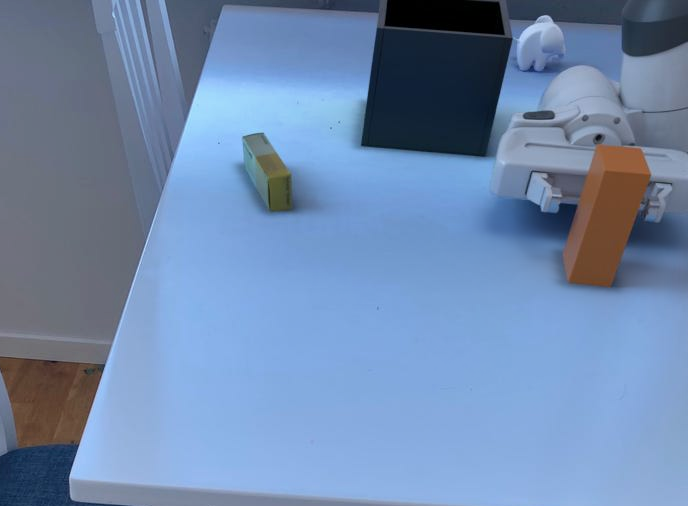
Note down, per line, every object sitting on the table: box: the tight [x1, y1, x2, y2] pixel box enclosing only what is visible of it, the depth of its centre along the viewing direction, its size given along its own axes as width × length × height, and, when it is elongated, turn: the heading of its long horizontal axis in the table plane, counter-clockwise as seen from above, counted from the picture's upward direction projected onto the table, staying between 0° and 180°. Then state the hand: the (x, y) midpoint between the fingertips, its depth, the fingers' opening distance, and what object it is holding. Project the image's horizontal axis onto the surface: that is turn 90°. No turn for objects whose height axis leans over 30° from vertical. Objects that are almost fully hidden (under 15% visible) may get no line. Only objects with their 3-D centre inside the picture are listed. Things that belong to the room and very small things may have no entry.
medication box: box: [241, 132, 293, 212], centre depth 102 cm, size 12×3×4 cm, turn 12°
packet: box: [562, 145, 651, 288], centre depth 88 cm, size 4×6×11 cm, turn 171°
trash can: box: [360, 0, 514, 158], centre depth 111 cm, size 15×15×13 cm
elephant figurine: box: [513, 15, 568, 73], centre depth 131 cm, size 7×8×6 cm
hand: (603, 209), depth 88 cm, fingers open, 8 cm apart
